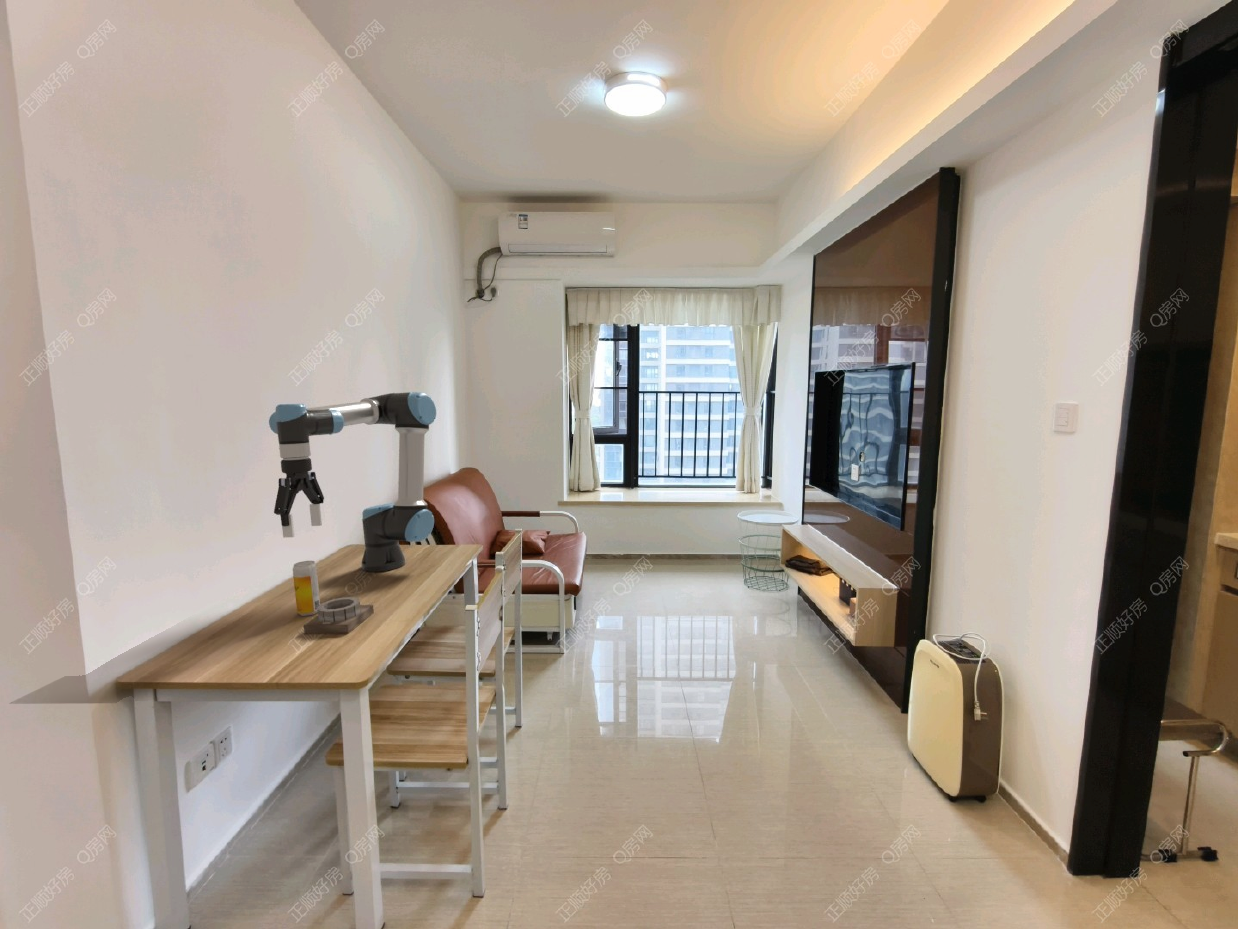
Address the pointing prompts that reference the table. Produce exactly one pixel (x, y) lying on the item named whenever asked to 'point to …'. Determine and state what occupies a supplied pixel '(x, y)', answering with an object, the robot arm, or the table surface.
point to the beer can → (306, 587)
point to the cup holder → (338, 616)
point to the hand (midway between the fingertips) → (303, 531)
